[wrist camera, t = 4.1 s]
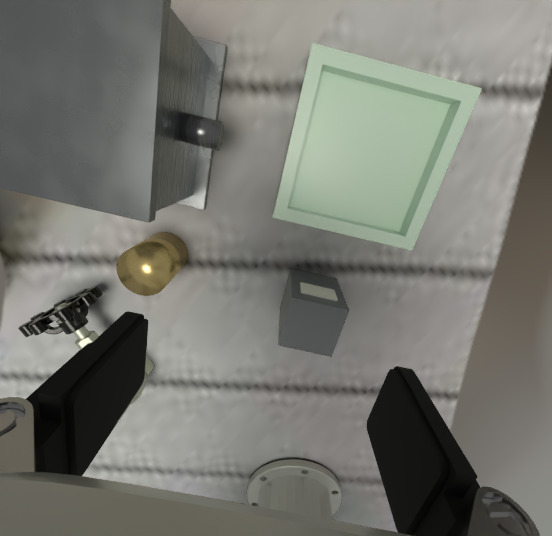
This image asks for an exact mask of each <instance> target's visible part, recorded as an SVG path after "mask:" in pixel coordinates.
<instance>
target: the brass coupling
mask: <svg viewBox="0 0 552 536" xmlns="http://www.w3.org/2000/svg"><path fill="white" fill-rule="evenodd" d="M187 260H188V250H187V247H186V245H185V244H184V242H183V241H182V240H181V239H180V238H179V237H178V236H176V235H174V234H172V233H168V232H160V233H156V234H154V235H153V236H151V237H149V238H148V239H146V240H144V241H143V242H141V243H139V244H137V245H136V246H134V247H132V248H131V249H129V250H127V251H126V252H124V253H123V254H122V255H121V256H120V257H119V259H118V262H117V274H118V277H119V279H120V281H121V282H122V283H123V285H124V286H125V287H126V288H128V289H129V290H130V291H132V292H134V293H136V294H139V295H144V296H149V295H154V294H157V293H159V292H160V291H161V290H162V289H163V288H164V287H165V286H166V285H167V284H168V283H169V282H170V281H171V280H172V279H173V278H174V277H175V276H176V274H177V273H178V272H179V271H180V270H181V269H182V268H183V267H184V266H185V264H186V263H187Z"/></svg>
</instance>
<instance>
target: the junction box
mask: <svg viewBox="0 0 552 536" xmlns="http://www.w3.org/2000/svg"><path fill="white" fill-rule="evenodd" d="M170 5H171V0H0V188H2V189H6V190H10V191H15V192H19V193H23V194H28V195H32V196H36V197H41V198H45V199H49V200H53V201H58V202H62V203H66V204H71V205H75V206H79V207H84V208H88V209H92V210H97V211H101V212H105V213H110V214H114V215H118V216H123V217H127V218H131V219H136V220H140V221H144V222H151V221H153V220H155V214H156V211H157V210H160V209H162V208H165V207H167V206H169V205H172V204H174V203H178V204H182V205H186V206H190V207H195V208H199V209H203V210H204V209H205V207H206V200H207V192H208V185H209V178H210V170H211V163H212V156H213V150H217V151H219V149H220V147H221V144H222V139H223V129H224V128H223V122H221V121H217V119H218V112H219V104H220V97H221V90H222V82H223V75H224V68H225V60H226V53H227V47H226V45H224V44H220V43H217V42H213V41H209V40H205V39H201V38H198V37H194V36H192V35H191V33H190V32H189V31H188V30H187V28H186V27H185V26H184V25H183V23H182V22H181V21H180V19H179V18H178V17H177V16H176V14H175V13H174V12H173V11H172V9H171V8H170Z"/></svg>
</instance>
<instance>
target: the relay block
mask: <svg viewBox="0 0 552 536" xmlns="http://www.w3.org/2000/svg"><path fill="white" fill-rule="evenodd" d="M348 312H349V309H348V306H347V304H346V301H345V299H344V296H343V294H342V291H341V289H340V286H339V284H338V281H337V279H335V278H331V277H326V276H322V275H318V274H313V273H309V272H305V271H300V270H296V269H292V268H291V270H290V274H289V277H288V281H287V285H286V288H285V292H284V296H283V299H282V303H281V307H280V319H279V339H278V345H279V346H284V347H289V348H293V349H298V350H303V351H307V352H312V353H316V354H321V355H326V356H330V357H332V354H333V351H334V349H335V346H336V344H337V341H338V338H339V336H340V333H341V330H342V328H343V325H344V322H345V320H346V317H347V314H348Z"/></svg>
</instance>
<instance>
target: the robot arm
mask: <svg viewBox="0 0 552 536" xmlns="http://www.w3.org/2000/svg"><path fill="white" fill-rule="evenodd" d="M147 332H148V320H147V319H144V315H143V314H138V313H133V312H125V313H124V314H123V315H122V316H121V317H120V318H119V319H117V320H116V321H115V322H114V323H113V324H112V325H111V326H110V327H109V328H108V329H107V330H106V331H104V332H103V333H102V334H101V335H100V336H99V337H98V338H97V339H96V340H95V341H94V342H91V343H88V344H87V345H85V346H84V347H83V348H82V349H81V350H80V351H79V352H78V353H76V354H75V355H74V356H73V357H72V358H71V359H70V360H69V361H68V362H66V363H65V364H64V365H63V366H62V367H61V368H60V369H59V370H58V371H56V372H55V373H54V374H53V375H52V376H51V377H50V378H49V379H48V380H46V381H45V382H44V383H43V384H42V385H41V386H40V387H39V388H38V389H37V390H35V391H34V392H33V393H32V394H31V395H30V396H29V397H28V398H27V399H23V398H19V397H8V398H2V399H0V536H540V534H539V531H538V529H537V528H536V526H535V524H534V522H533V521H532V519H531V518H530V517H529V515H528V514H527V513H526V512H525V511H524V510H523V509H522V508H521V507H520V506H519V504H517V503H516V502H515V501H514V500H513V499H511V498H510V497H509V496H507V495H506V494H504V493H502V492H501V491H499V490H497V489H494V488H491V487H484V486H483V487H481V488H480V486H479V484H478V483H477V481H476V478H477V475H476V474H475V472H474V470H473V468H472V467H471V465H470V463H469V462H468V460H467V459H466V457H465V455H464V454H463V452H462V450H461V449H460V447H459V445H458V444H457V442H456V440H455V439H454V437H453V436H452V434H451V432H450V430H449V429H448V427H447V425H446V424H445V422H444V420H443V419H442V417H441V415H440V414H439V412H438V411H437V409H436V407H435V406H434V404H433V402H432V401H431V399H430V397H429V396H428V394H427V392H426V391H425V389H424V387H423V386H422V384H421V382H420V381H419V379H418V377H417V376H416V374H415V372H414V371H413V370H412V369H408V368H403V367H398V366H397V367H395V368H394V369H390V370H389V372H388V374H387V376H386V379H385V381H384V383H383V386H382V388H381V390H380V392H379V395H378V397H377V399H376V402H375V404H374V406H373V408H372V411H371V413H370V415H369V418H368V420H367V431H368V434H369V438H370V441H371V444H372V448H373V451H374V454H375V458H376V461H377V465H378V468H379V471H380V475H381V478H382V481H383V485H384V488H385V491H386V495H387V498H388V502H389V505H390V508H391V512H392V515H393V518H394V522H395V525H396V528H397V531H398V533H397V532H392V531H387V530H382V529H376V528H371V527H366V526H361V525H355V524H350V523H345V522H339V521H334V520H333V517H332V515H333V514H334V513H335V512H336V511H337V510H338V508H339V507H340V504H341V501H342V493H341V487H340V484H339V481H338V479H337V478H336V477H335V475H334V474H333V473H331V472H330V471H329V470H328V469H326V468H324V467H323V466H321V465H319V464H316V463H313V462H310V461H305V460H297V459H287V460H280V461H275V462H272V463H269V464H267V465H265V466H263V467H261V468H260V469H258V470H257V471H256V472H255V473H254V474H253V475H252V476H251V478H250V480H249V482H248V488H247V500H248V503H249V505H247V504H241V503H236V502H230V501H225V500H219V499H214V498H208V497H202V496H197V495H191V494H185V493H180V492H174V491H168V490H162V489H157V488H151V487H145V486H140V485H134V484H128V483H122V482H115V481H109V480H102V479H96V478H89V477H83V476H82V475H83V474H84V472H85V471H86V469H87V468H88V466H89V465H90V463H91V462H92V460H93V459H94V457H95V456H96V454H97V453H98V451H99V450H100V448H101V447H102V445H103V444H104V442H105V440H106V439H107V437H108V436H109V434H110V433H111V431H112V430H113V428H114V427H115V425H116V424H117V422H118V421H119V419H120V418H121V416H122V415H123V413H124V412H125V410H126V409H127V407H128V405H129V404H130V402H131V401H132V399H133V398H134V396H135V395H136V393H137V392H138V390H139V389H140V387H141V386H142V383H143V381H144V377H145V364H146V348H147Z"/></svg>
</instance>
